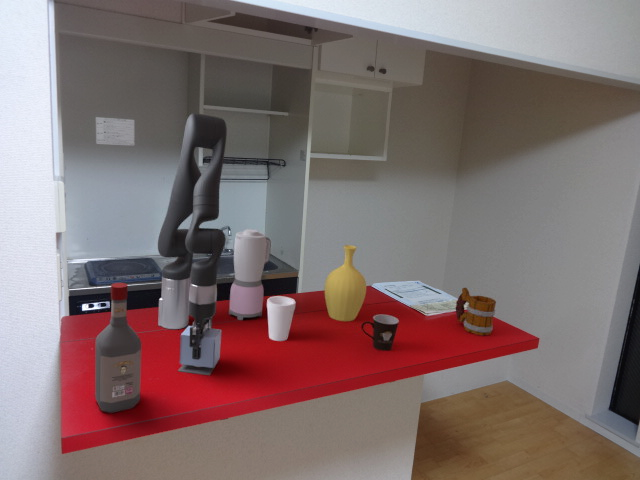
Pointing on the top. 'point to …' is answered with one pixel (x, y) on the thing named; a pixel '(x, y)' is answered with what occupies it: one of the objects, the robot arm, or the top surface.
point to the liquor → (117, 358)
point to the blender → (248, 273)
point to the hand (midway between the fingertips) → (200, 353)
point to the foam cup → (280, 316)
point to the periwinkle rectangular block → (208, 348)
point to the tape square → (196, 369)
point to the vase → (345, 289)
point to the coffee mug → (383, 331)
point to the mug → (476, 313)
